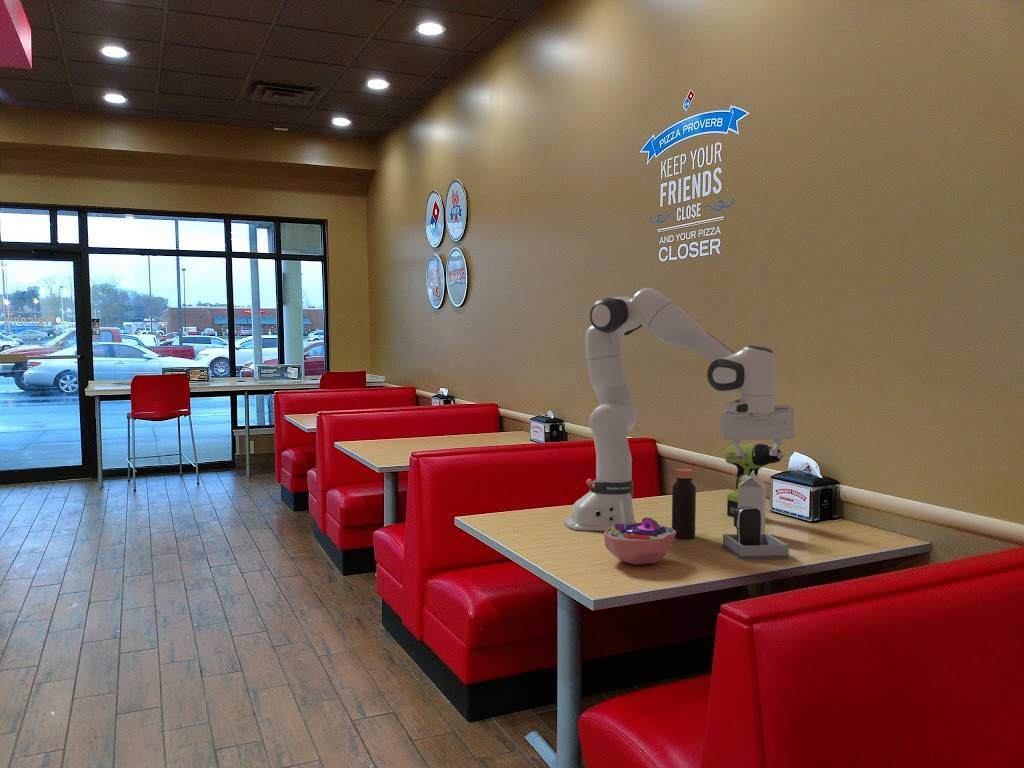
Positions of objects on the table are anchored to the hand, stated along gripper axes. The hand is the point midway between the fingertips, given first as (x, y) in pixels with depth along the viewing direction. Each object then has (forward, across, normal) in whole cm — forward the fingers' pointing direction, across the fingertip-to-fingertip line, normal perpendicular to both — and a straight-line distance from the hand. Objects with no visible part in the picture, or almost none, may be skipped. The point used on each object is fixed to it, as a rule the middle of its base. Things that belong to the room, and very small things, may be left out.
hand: (756, 455), depth 205 cm
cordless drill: (+27, -16, -35) cm, 47 cm away
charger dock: (+27, 0, 0) cm, 27 cm away
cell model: (+27, +34, +5) cm, 44 cm away
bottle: (+27, +14, -18) cm, 35 cm away
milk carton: (+27, -7, -18) cm, 33 cm away
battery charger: (+26, +2, 0) cm, 26 cm away
